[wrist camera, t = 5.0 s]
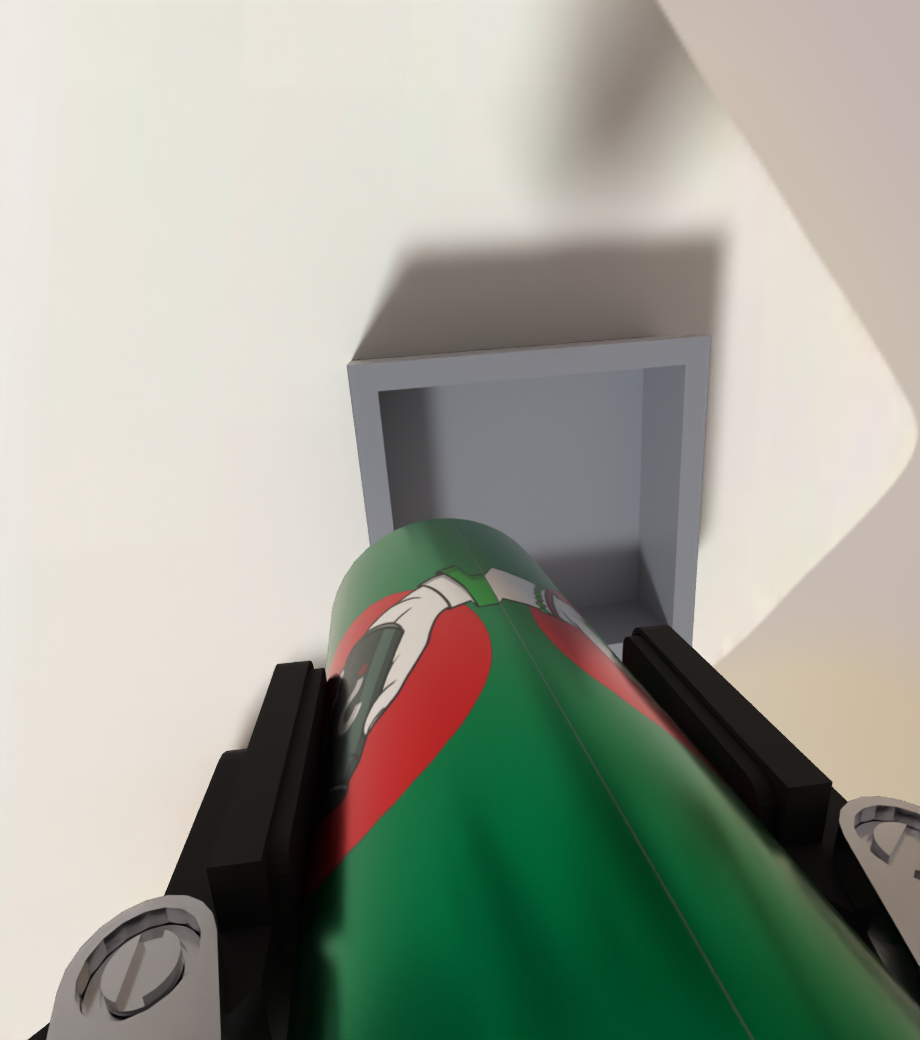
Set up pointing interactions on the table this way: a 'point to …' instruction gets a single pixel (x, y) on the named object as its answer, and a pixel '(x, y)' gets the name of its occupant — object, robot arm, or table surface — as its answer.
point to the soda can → (540, 836)
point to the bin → (552, 463)
